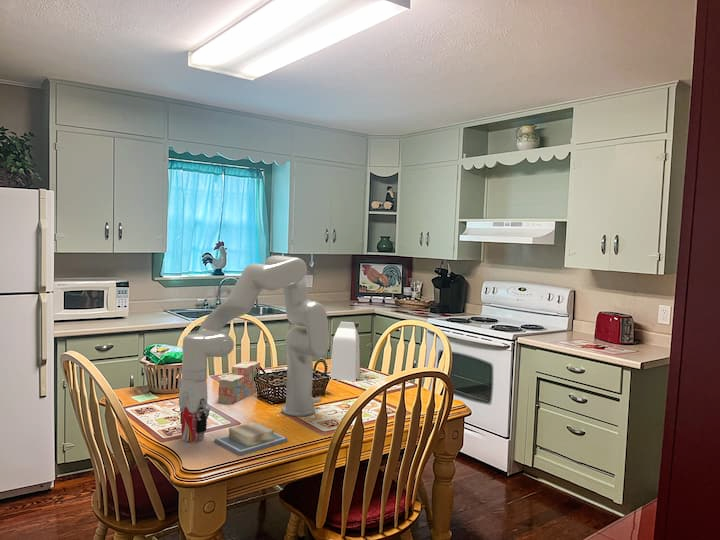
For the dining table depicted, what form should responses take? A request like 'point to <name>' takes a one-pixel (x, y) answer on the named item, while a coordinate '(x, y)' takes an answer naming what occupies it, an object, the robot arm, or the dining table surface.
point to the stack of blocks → (238, 382)
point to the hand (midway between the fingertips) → (193, 427)
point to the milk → (345, 353)
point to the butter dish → (250, 438)
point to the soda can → (190, 426)
